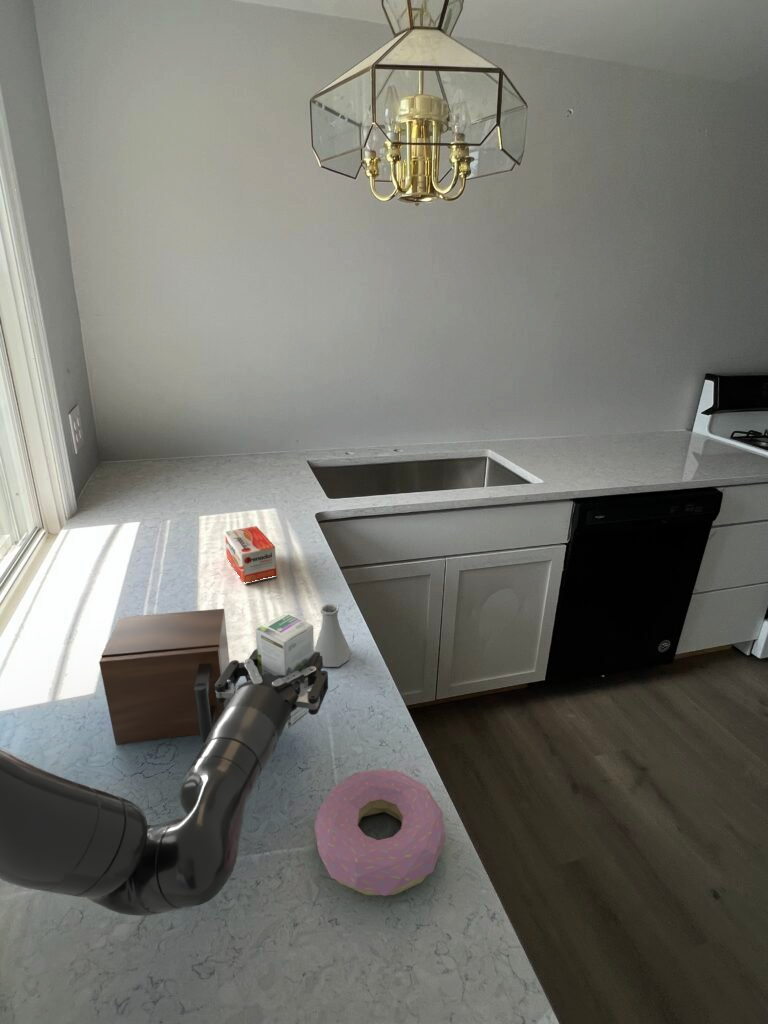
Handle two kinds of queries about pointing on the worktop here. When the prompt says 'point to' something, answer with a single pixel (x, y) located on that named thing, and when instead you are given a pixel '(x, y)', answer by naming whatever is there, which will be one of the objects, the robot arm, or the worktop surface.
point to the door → (162, 694)
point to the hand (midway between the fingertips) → (290, 654)
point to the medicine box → (250, 554)
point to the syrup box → (285, 651)
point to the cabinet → (170, 634)
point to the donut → (383, 860)
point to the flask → (331, 639)
